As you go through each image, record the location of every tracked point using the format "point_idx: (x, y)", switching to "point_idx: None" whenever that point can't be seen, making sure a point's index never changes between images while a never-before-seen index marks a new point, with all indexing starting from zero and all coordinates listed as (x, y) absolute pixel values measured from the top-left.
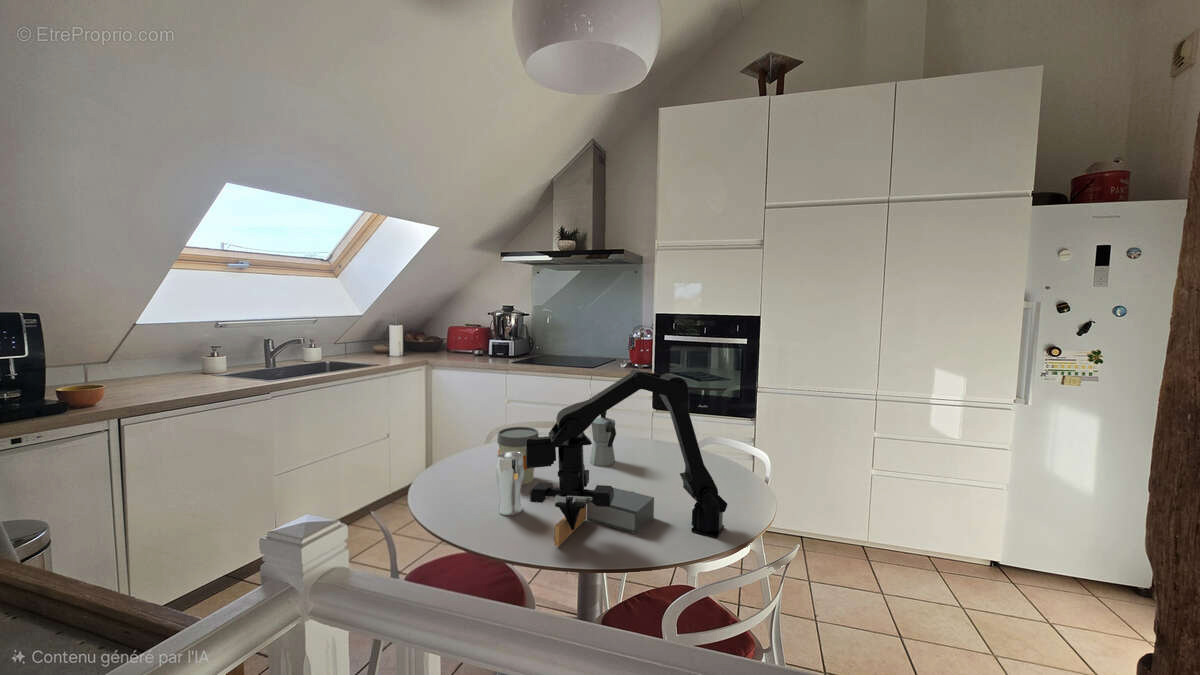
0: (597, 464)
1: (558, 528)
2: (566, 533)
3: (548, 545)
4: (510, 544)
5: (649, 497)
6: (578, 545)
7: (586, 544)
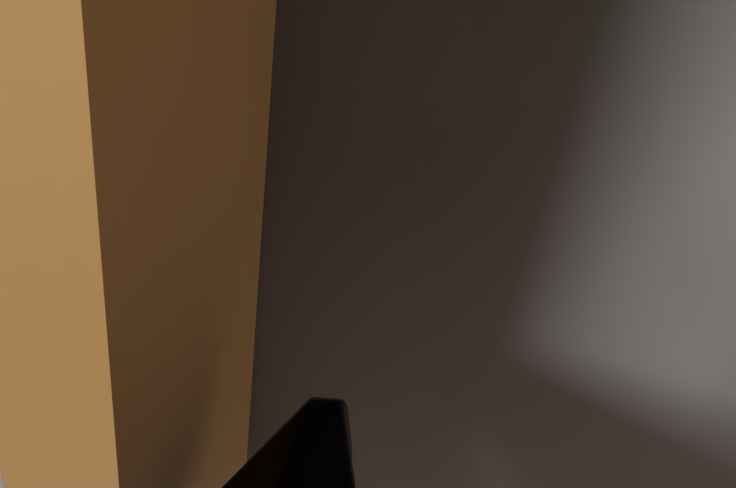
0: None
1: None
2: (233, 374)
3: None
4: None
5: None
6: (475, 385)
7: (588, 346)
